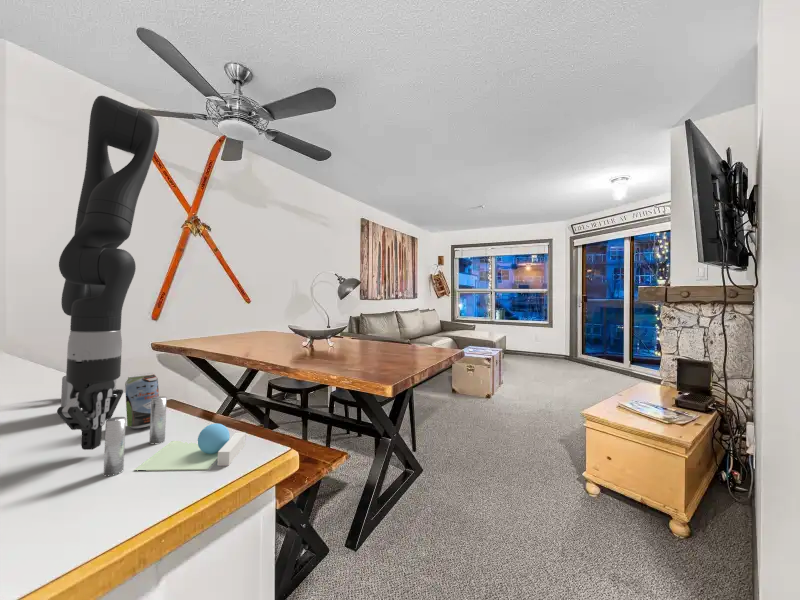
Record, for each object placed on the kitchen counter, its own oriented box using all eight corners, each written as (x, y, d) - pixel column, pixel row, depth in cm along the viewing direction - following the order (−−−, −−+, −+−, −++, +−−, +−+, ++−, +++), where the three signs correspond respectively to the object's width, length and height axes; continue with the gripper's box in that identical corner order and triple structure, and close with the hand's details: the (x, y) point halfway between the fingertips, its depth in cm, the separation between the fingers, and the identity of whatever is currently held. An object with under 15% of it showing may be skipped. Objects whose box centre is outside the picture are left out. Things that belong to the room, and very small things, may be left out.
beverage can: (142, 433, 74) (144, 378, 74) (114, 429, 76) (117, 375, 76) (167, 423, 80) (169, 372, 80) (141, 419, 82) (143, 369, 82)
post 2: (146, 444, 69) (148, 399, 69) (154, 439, 72) (156, 396, 72) (160, 444, 69) (162, 399, 69) (167, 439, 72) (169, 396, 72)
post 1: (99, 476, 56) (101, 422, 56) (110, 468, 59) (113, 416, 59) (116, 476, 57) (118, 422, 57) (127, 468, 59) (129, 416, 59)
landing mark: (133, 471, 59) (133, 470, 59) (171, 442, 70) (172, 441, 70) (207, 469, 60) (207, 468, 60) (232, 441, 72) (232, 440, 72)
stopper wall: (217, 465, 62) (217, 451, 62) (235, 444, 70) (235, 432, 71) (228, 465, 62) (229, 451, 62) (245, 444, 71) (245, 432, 71)
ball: (205, 423, 64) (229, 439, 64) (216, 414, 69) (239, 429, 70) (185, 448, 63) (210, 464, 64) (198, 437, 69) (221, 452, 69)
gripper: (100, 348, 69) (96, 434, 69) (39, 360, 56) (34, 465, 56) (140, 349, 70) (136, 433, 70) (89, 361, 57) (84, 464, 57)
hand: (91, 447), depth 63 cm, fingers closed
